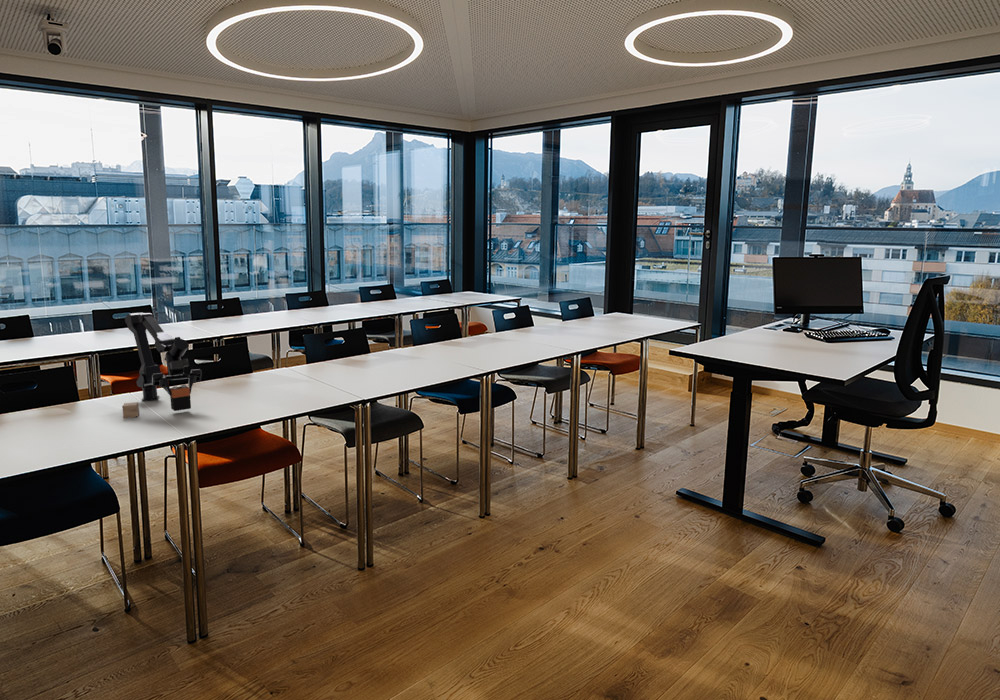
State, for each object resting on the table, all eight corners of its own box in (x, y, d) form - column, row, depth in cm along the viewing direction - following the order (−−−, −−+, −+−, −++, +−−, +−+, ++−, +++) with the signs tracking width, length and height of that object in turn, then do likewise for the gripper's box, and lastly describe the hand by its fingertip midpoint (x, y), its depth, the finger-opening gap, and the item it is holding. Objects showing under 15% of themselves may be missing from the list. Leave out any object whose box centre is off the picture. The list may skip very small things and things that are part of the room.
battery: (191, 408, 284) (189, 385, 282) (174, 411, 280) (172, 387, 278) (188, 406, 287) (186, 383, 285) (171, 409, 283) (169, 385, 281)
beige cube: (125, 414, 280) (124, 403, 279) (139, 413, 282) (138, 402, 281) (123, 417, 276) (122, 406, 275) (137, 416, 277) (136, 405, 276)
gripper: (150, 354, 277) (156, 386, 270) (199, 350, 287) (206, 381, 281) (149, 369, 285) (155, 401, 278) (197, 365, 295) (204, 395, 288)
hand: (180, 394), depth 281 cm, fingers closed on battery, 7 cm apart
